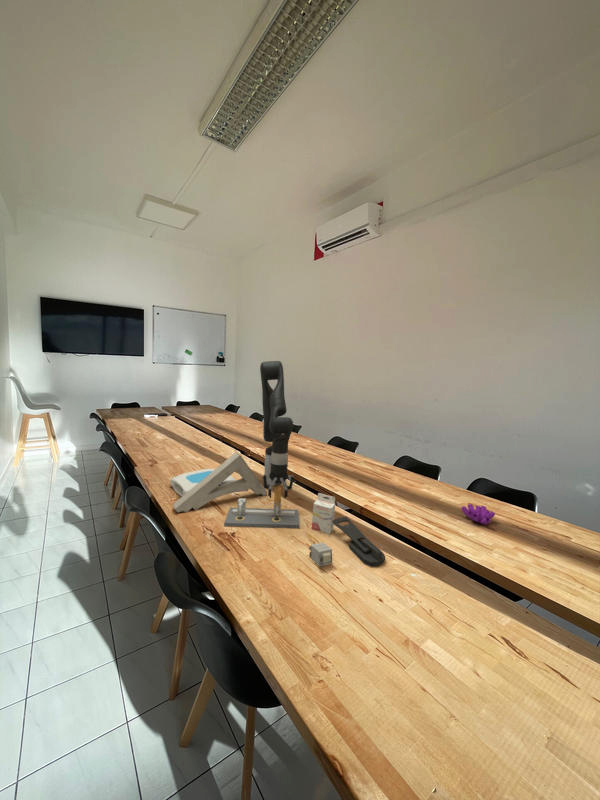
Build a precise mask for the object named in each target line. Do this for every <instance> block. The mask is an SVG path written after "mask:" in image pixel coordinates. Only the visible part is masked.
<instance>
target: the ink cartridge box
mask: <svg viewBox="0 0 600 800" xmlns="http://www.w3.org/2000/svg"><path fill="white" fill-rule="evenodd" d="M335 511H336V497H335V496H331V495H328V494H326V493H325V494H324V493H320V492H318V493H317V499H316V500H315V501H314V502H313V507H312V519H311V520H312V521H311V529H312V530H315V531H319V532H322V533H325V534H327V535H328V534H329V535H330V534H331V533H332V532H333V530H334V526H335V524H334V523H333V520H335V515H336V514H335Z"/></svg>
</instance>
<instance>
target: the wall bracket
mask: <svg viewBox="0 0 600 800" xmlns="http://www.w3.org/2000/svg"><path fill="white" fill-rule="evenodd" d="M214 469H215V470H214V471H213V472H211V473H210V474H209V475H208V476H206V477H205V478H204V479H203V480H202V481H200V482H199V483H198V484H197V485H196V486H194V487H193V488H192V489H191V490H189V491H188V492H187V493H186V494H185V495H183V496H180V498H179V499H177V500H176V501H175V502H173V503H172V507H173V509H174V510H175V511H176V513H180V512H185V513H188V512H189V511H190V510H191V509H194V511H197V510H198V509H200V508H202V507H203V506H205V505H206V504H208V503H209V502H211V501H213V500H215V499H218V498H219V497H220V498H221V497H222V496H226V495H230V494H233V493H240V492H241V493H242V492H248V491H249V490H250V491H252V493H254V494H256V495H261V496H262V497H265V496H266V495H268V490H267V489H265V488H264V485H263V483H261V482H260V480H259V479H258V477H257V476H256V474H255V473H254V472H253V470H252V469H251V468H250V466H249V465H248V463H247V462H246V460H245V459H244V457H243V456H242V455H241V454H240V453H239V452H237V451H236V452H234V453H233V454H231V456H230V457H228V458H227V459H226V460H225V461H224V462H222V463H221V464H220V465H218V466H217V467H216V468H214ZM235 472H237V473H238V474H239V475H240V477H241V478H240V479H237V480H236V479H235V481H233V482H230V483H226V484H223V485H220V484H221V483H222V482H223V481H224V480H225V479H227V478H228V477H229V476H230V475H233V474H234V473H235ZM219 485H220V486H219Z"/></svg>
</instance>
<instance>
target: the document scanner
mask: <svg viewBox="0 0 600 800" xmlns="http://www.w3.org/2000/svg"><path fill="white" fill-rule="evenodd" d="M215 469H216V468H203V469H198V470H192V471H189V472H184V473H181V474H179V475H176V476H174V477H172V478H170V480H169V481H170V482H169V483H170V484H169V485H170V486H171V487H172V488H173V490H174V492H175V493H177V494H178V495H179V496H180V497H182V496H183V495H185V494H186V493H187V492H188V491H189V490H191V489H192V488H193V487H194V486H196V485H197V484H198V483H199V482H200V481H202V480H203V479H204V478H205V477H206V476H208V475H209V474H210V473H211V472H213V471H214V470H215ZM233 481H236V479H235V477H233V474H231V475H230V476H229V477H228V478H227V479H225V480H224V481H223V482H222V483H221V484H220V485H223V484H226V483H230V482H233Z"/></svg>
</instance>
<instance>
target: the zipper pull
mask: <svg viewBox="0 0 600 800" xmlns="http://www.w3.org/2000/svg"><path fill="white" fill-rule="evenodd" d="M345 522H347V523H348V524H345V525H341V524H340V523H345ZM333 523H334V526H336V527H337V528H338V529H339V530H340V531H341V532H343V534H345V535H346V536H347V537H348V538H349V539H350V542H349V543H348V548H349V550H350V551H351V552H352V554H354V556H356V557H357V559H358V560H360V561H361V562H362V563H363V564H364V565H366V566H368V567H370V568H376V567H380V566H383V565H384V563H386V555H385V554H384V552H383V551H382V550H381V548H379V547H377V546H376V545H375V544H374V543H373V542H372V541H371V540H370V539H368V537H366V536H365V535H364V533H363V532H362V531H361V530H360V529H359V528H358V527H357V525H355V524H354V523H353V521H352V520H351V519H350V518H349V517H348V516H341V517H337V518H334V520H333Z"/></svg>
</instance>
